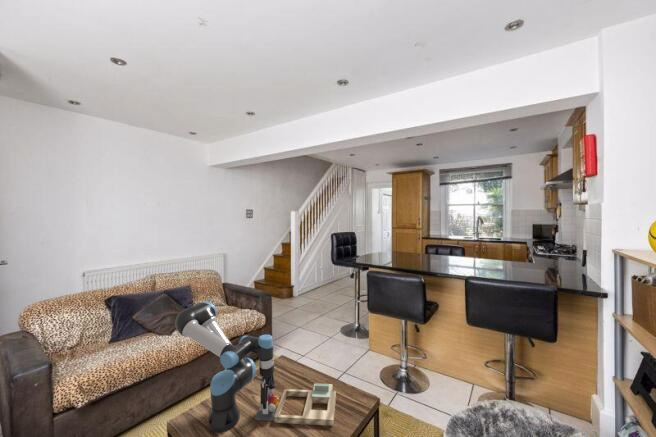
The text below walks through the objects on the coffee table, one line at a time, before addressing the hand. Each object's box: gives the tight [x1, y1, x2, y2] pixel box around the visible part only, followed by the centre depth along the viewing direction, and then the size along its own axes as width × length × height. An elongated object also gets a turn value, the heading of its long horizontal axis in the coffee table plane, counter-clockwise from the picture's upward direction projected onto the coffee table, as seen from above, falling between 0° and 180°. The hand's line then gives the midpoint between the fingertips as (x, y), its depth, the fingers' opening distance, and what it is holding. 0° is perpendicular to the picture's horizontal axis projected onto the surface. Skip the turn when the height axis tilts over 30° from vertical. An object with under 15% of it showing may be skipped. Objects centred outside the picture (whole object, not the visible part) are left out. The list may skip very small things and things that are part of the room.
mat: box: [254, 405, 277, 422], centre depth 146 cm, size 11×11×1 cm
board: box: [273, 383, 337, 427], centre depth 151 cm, size 30×27×3 cm
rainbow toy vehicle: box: [260, 393, 280, 412], centre depth 145 cm, size 8×10×7 cm
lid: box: [312, 383, 332, 398], centre depth 156 cm, size 10×11×4 cm
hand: (268, 407), depth 146 cm, fingers closed on rainbow toy vehicle, 8 cm apart
